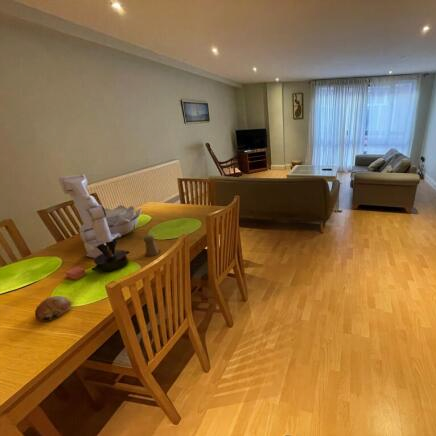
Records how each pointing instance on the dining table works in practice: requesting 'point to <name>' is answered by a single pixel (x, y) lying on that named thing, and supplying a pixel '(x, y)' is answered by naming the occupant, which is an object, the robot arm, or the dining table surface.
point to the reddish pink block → (76, 273)
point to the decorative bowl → (122, 219)
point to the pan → (112, 265)
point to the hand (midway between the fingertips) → (110, 255)
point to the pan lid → (110, 257)
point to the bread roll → (52, 308)
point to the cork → (150, 245)
